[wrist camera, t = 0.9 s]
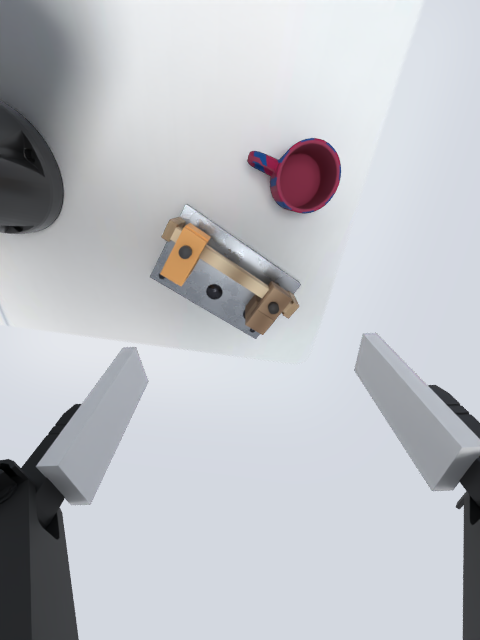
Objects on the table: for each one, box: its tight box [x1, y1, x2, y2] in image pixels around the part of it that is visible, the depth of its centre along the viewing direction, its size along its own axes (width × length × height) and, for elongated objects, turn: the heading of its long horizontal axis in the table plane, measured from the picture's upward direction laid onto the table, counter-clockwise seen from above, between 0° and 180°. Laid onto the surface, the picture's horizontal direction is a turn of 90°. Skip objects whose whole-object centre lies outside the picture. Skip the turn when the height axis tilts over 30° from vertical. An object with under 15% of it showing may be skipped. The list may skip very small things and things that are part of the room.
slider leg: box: [160, 223, 211, 287], centre depth 30 cm, size 3×8×7 cm, turn 146°
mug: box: [247, 138, 341, 213], centre depth 27 cm, size 7×10×7 cm
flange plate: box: [150, 204, 301, 339], centre depth 36 cm, size 20×12×1 cm, turn 56°
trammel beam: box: [162, 217, 299, 335], centre depth 32 cm, size 20×8×7 cm, turn 56°
